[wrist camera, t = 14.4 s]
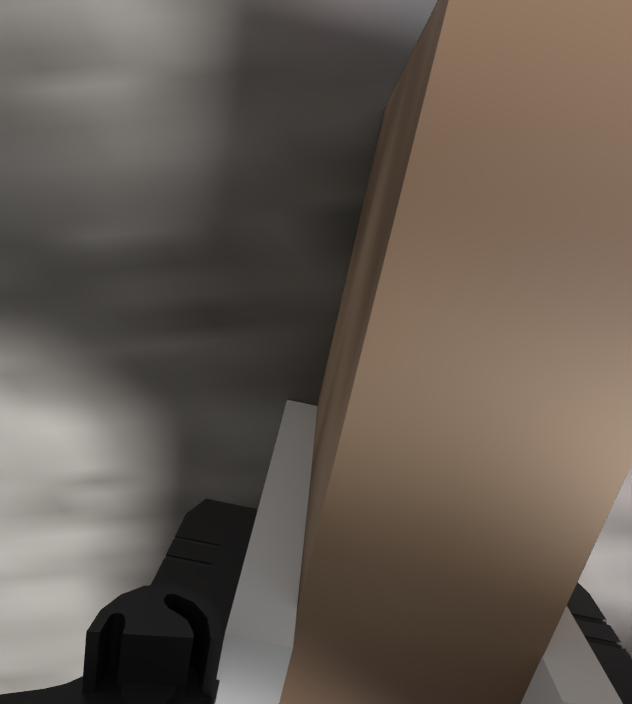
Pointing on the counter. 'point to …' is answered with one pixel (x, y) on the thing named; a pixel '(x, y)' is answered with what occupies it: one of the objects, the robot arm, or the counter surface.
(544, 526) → the walnut box
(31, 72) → the counter surface
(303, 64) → the counter surface
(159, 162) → the counter surface
